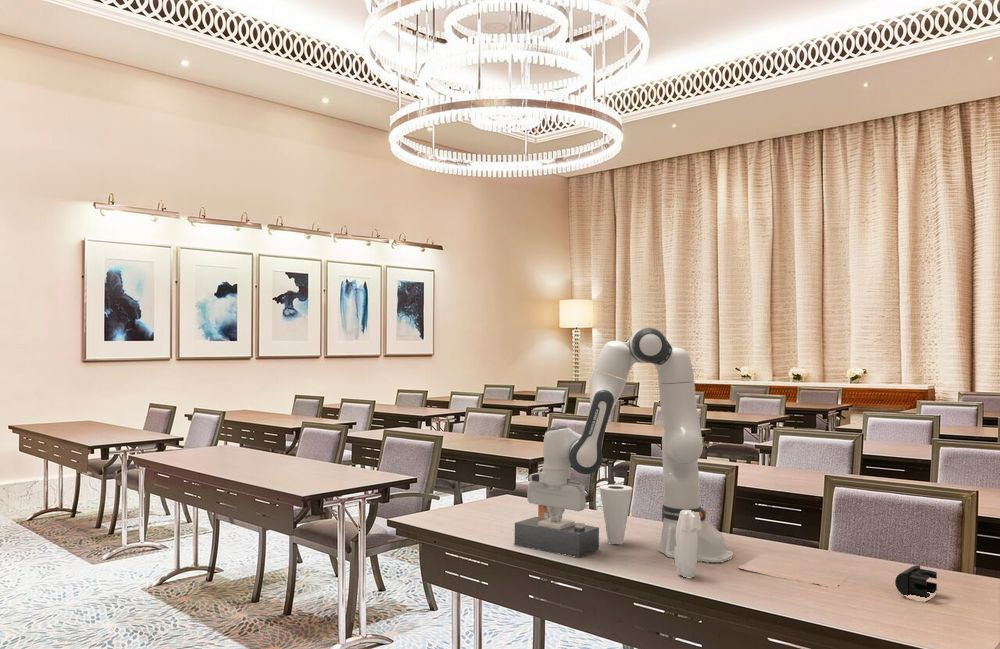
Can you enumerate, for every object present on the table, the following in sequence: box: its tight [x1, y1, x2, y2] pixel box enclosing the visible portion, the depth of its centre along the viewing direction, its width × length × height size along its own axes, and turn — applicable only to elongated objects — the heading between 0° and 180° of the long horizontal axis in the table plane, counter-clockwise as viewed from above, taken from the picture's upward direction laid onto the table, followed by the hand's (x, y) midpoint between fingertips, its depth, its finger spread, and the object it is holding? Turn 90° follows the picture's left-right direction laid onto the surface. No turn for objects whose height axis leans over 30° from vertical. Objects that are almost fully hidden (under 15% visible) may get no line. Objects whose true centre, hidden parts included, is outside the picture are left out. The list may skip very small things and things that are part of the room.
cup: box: [599, 484, 633, 545], centre depth 243 cm, size 11×11×18 cm
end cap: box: [894, 565, 938, 598], centre depth 192 cm, size 10×7×7 cm
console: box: [513, 516, 600, 559], centre depth 236 cm, size 24×12×9 cm, turn 53°
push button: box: [538, 518, 576, 529], centre depth 236 cm, size 8×8×7 cm
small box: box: [537, 505, 563, 519], centre depth 262 cm, size 8×6×10 cm
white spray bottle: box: [674, 510, 702, 578], centre depth 207 cm, size 7×18×7 cm
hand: (555, 521), depth 236 cm, fingers closed, pressing on push button
